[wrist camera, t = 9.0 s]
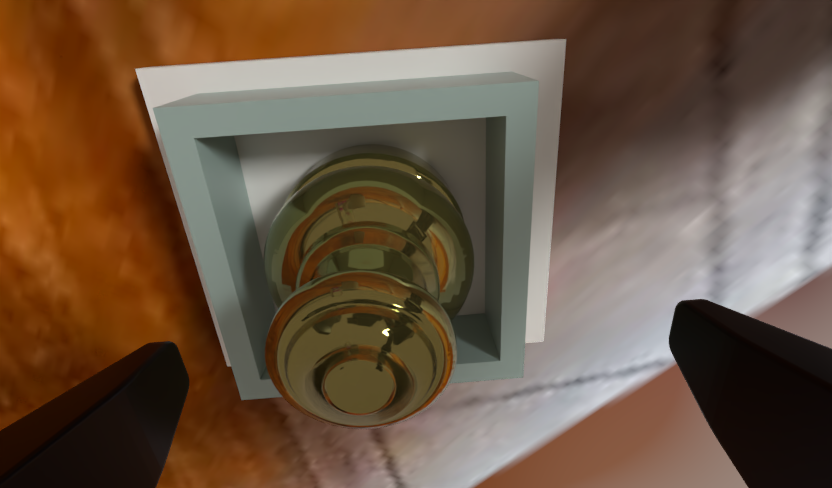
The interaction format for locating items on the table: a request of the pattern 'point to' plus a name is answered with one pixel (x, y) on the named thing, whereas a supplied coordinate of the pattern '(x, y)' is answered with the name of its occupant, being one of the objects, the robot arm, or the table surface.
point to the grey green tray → (357, 125)
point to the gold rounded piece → (366, 288)
